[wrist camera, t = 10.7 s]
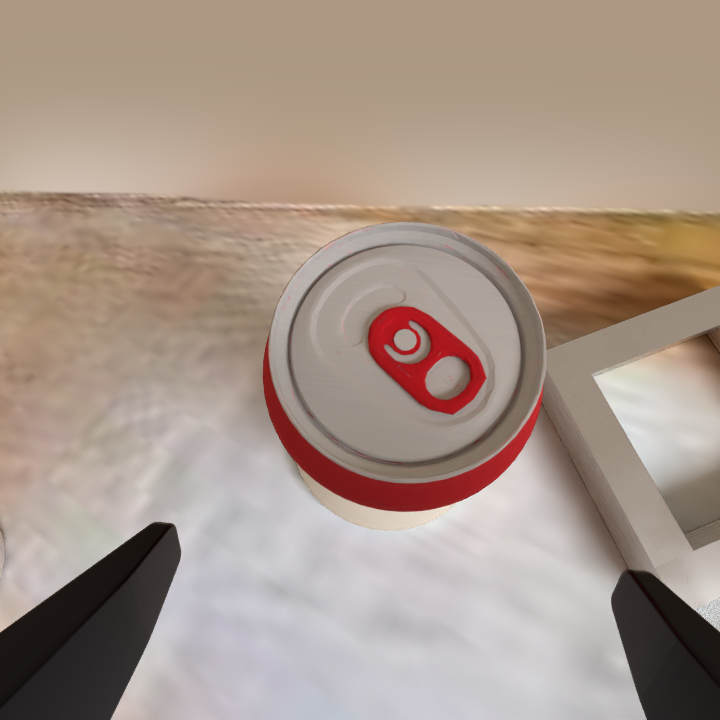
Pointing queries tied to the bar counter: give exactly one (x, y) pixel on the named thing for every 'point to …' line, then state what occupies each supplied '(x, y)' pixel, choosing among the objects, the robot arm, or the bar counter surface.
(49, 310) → the bar counter surface
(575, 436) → the square frame
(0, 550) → the pill bottle
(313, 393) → the beverage can
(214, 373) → the bar counter surface
